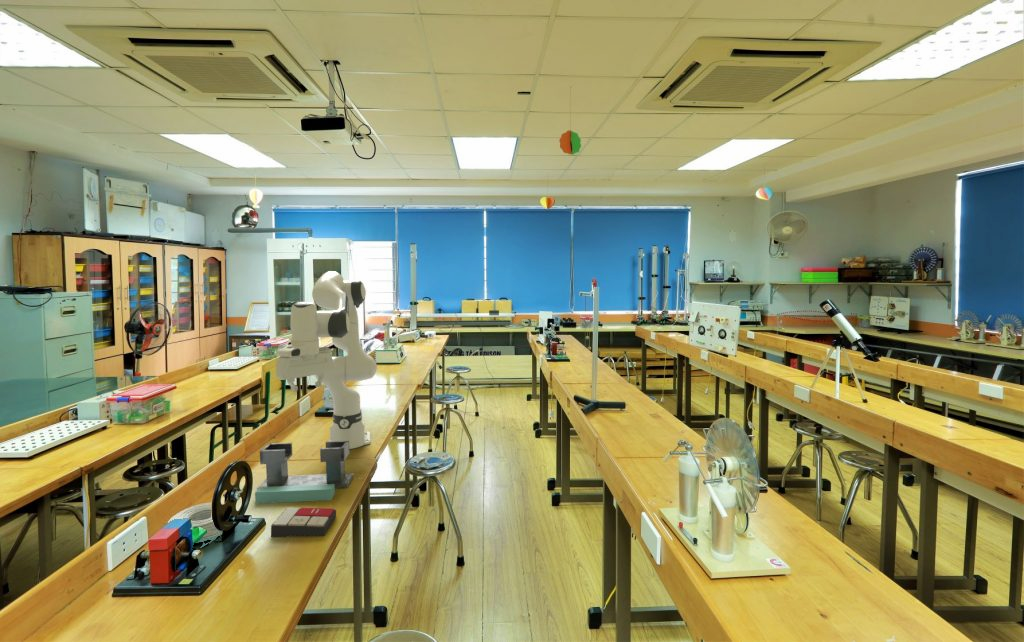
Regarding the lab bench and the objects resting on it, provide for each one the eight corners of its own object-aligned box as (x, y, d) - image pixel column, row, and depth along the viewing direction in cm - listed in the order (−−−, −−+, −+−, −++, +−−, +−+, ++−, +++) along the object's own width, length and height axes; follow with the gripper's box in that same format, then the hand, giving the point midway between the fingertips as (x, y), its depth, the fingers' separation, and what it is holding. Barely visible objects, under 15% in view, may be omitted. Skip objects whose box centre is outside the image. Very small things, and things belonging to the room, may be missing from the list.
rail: (260, 498, 165) (260, 487, 164) (334, 495, 167) (334, 484, 166) (255, 504, 161) (254, 492, 160) (331, 500, 163) (331, 489, 162)
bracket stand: (268, 479, 179) (266, 442, 178) (353, 476, 182) (352, 439, 181) (257, 491, 169) (255, 452, 168) (347, 487, 172) (346, 449, 171)
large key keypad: (324, 524, 140) (270, 523, 139) (324, 539, 140) (270, 538, 139) (336, 506, 151) (286, 505, 150) (336, 520, 151) (286, 519, 150)
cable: (197, 553, 132) (196, 532, 131) (149, 543, 137) (148, 522, 136) (250, 522, 148) (249, 503, 148) (205, 514, 153) (204, 495, 153)
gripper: (325, 345, 180) (326, 383, 181) (272, 351, 163) (273, 393, 164) (336, 346, 177) (337, 384, 178) (283, 352, 160) (285, 395, 160)
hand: (306, 389), depth 171 cm, fingers open, 8 cm apart
